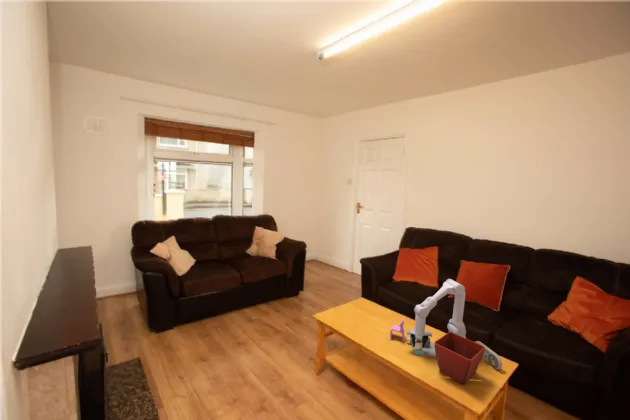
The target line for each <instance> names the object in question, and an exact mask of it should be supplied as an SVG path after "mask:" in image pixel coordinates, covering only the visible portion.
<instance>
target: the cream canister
mask: <svg viewBox="0 0 630 420" xmlns="http://www.w3.org/2000/svg"><path fill="white" fill-rule="evenodd" d="M422 346H423V342H422V341H421V340H419V339H416V340H415V347H414V350H422Z"/></svg>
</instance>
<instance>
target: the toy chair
mask: <svg viewBox="0 0 630 420" xmlns="http://www.w3.org/2000/svg"><path fill="white" fill-rule="evenodd" d="M404 320H405V317H402V319H401V321H400V324H399V325H396V324H393V325H392V327H391V329H390V332H389V335H390V336H389V337H390V338H389V339H390V340H392V339H393V332H396V333H400V334H401V337H402V342H404V341H405V339H406V336H405V328H404V325H405V324H404V323H405V321H404Z"/></svg>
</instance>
